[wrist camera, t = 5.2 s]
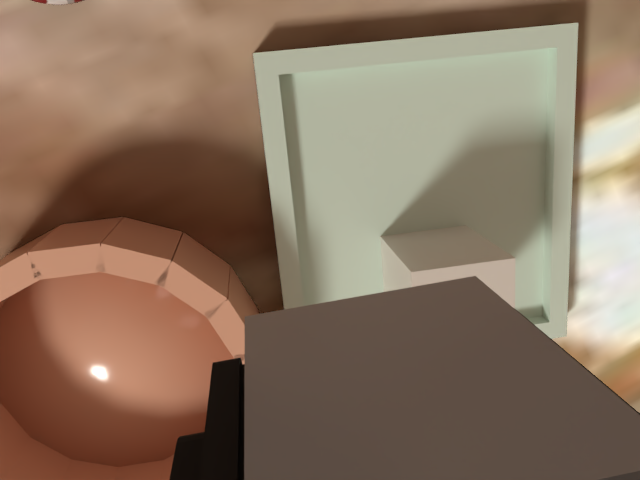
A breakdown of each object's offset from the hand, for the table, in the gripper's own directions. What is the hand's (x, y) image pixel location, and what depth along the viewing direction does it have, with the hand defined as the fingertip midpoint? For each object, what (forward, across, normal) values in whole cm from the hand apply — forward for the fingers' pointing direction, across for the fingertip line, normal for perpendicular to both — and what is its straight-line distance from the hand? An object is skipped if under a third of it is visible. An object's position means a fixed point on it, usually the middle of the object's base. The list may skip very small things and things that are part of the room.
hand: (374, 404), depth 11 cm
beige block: (+17, -6, +4) cm, 19 cm away
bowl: (+18, +10, +6) cm, 21 cm away
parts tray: (+18, -6, +1) cm, 19 cm away
